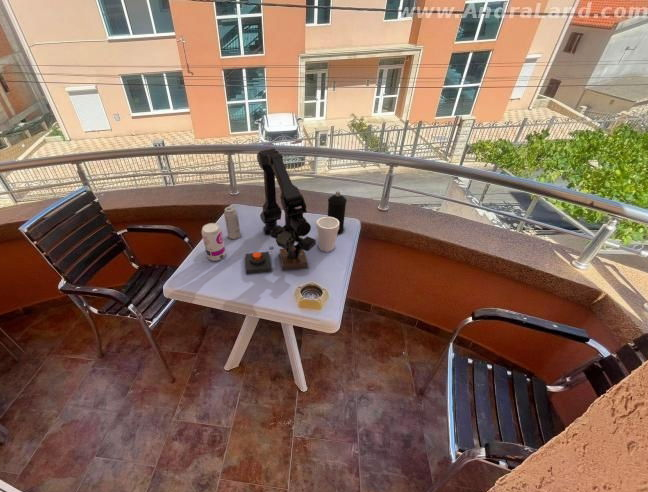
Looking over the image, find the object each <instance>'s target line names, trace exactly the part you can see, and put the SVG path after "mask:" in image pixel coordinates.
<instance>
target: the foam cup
mask: <svg viewBox="0 0 648 492" xmlns="http://www.w3.org/2000/svg"><path fill="white" fill-rule="evenodd" d="M316 230H317V237H318V238H317V240H318V247H319V250H320V251H322V252H325V253H326V252H327V253H329V252H332V251H333V250H334V248H335V245H336V240H337V236H338V234H337V233H338V230H339V221H338V219H336V218H334V217H328V216H323V217H320V218H318V219H317V220H316Z"/></svg>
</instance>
